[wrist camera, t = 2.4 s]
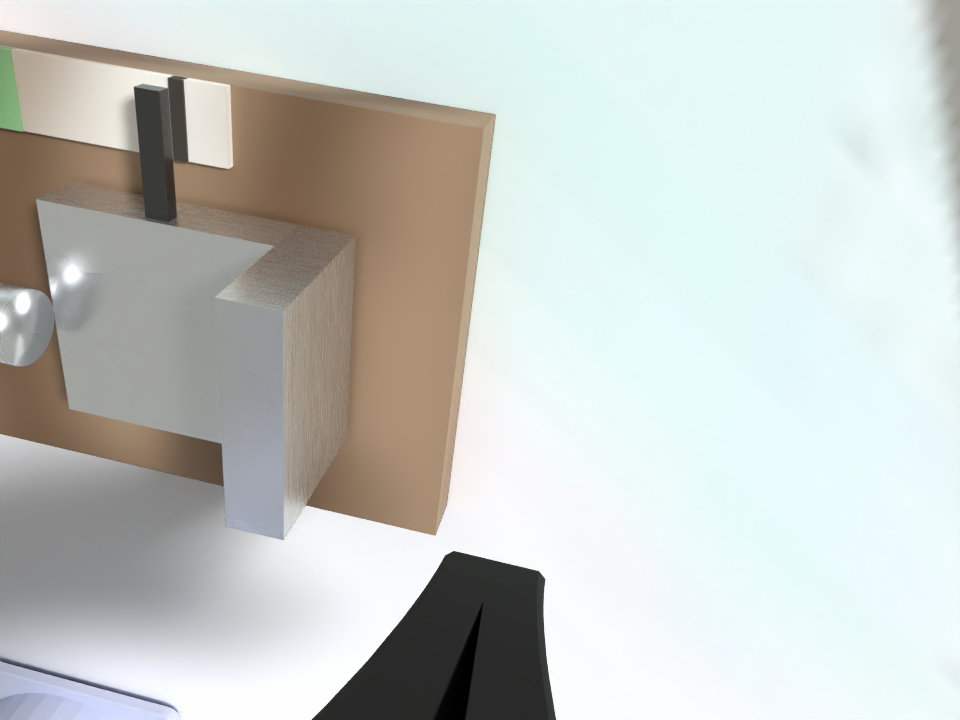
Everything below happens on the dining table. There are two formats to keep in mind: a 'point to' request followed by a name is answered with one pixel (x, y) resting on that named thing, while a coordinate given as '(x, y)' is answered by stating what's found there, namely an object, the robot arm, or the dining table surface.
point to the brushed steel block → (197, 326)
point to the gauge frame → (276, 196)
